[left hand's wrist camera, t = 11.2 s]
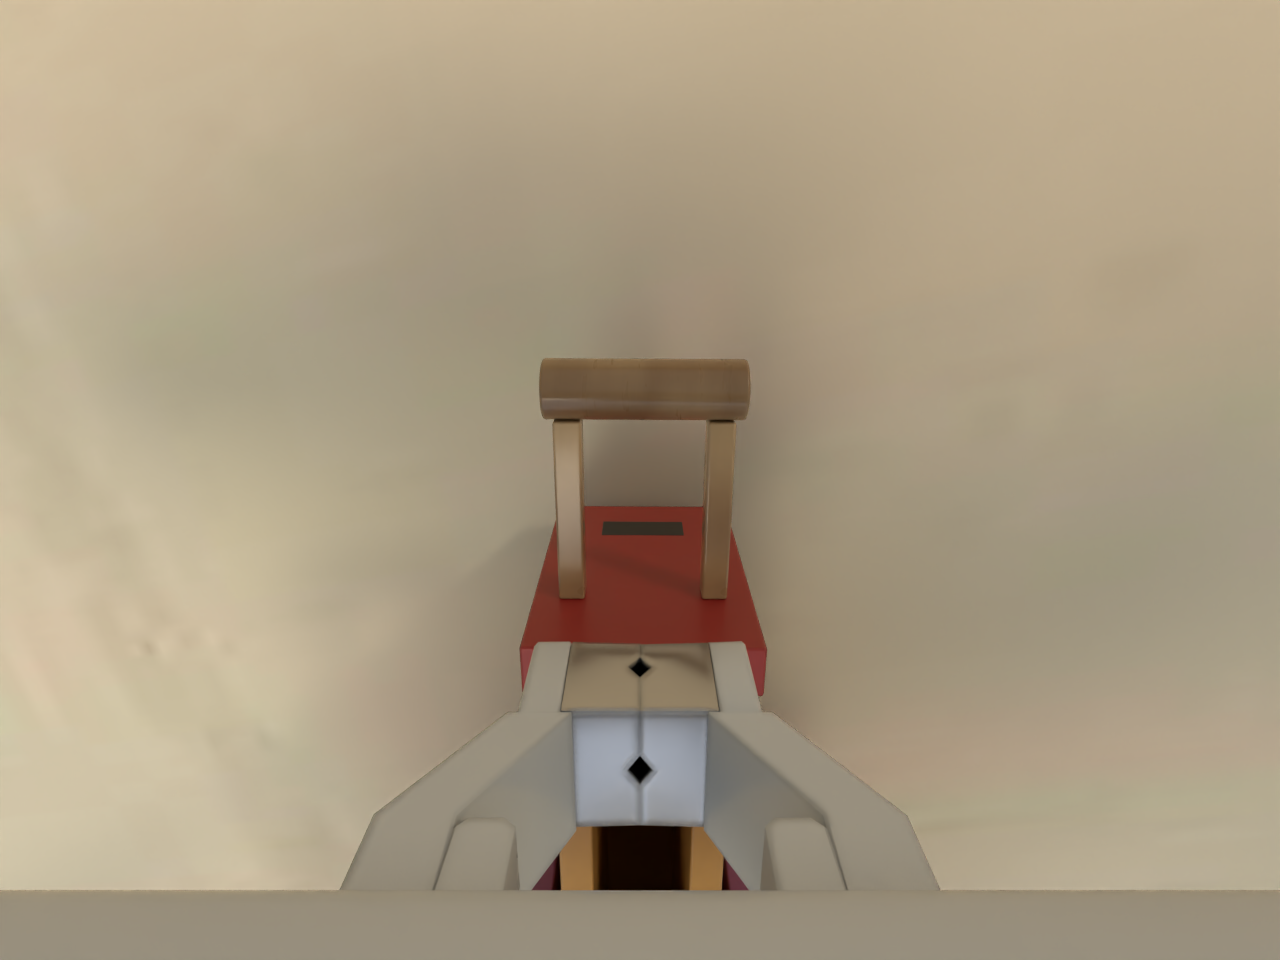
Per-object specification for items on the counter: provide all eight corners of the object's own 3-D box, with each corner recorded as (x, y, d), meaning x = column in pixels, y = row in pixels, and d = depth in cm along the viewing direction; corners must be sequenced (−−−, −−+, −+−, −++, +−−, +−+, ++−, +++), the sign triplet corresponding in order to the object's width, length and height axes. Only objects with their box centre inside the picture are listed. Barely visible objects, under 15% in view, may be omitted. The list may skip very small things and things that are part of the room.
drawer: (552, 322, 20) (501, 382, 13) (735, 323, 20) (788, 383, 13) (575, 934, 28) (552, 1181, 21) (703, 934, 28) (725, 1182, 21)
